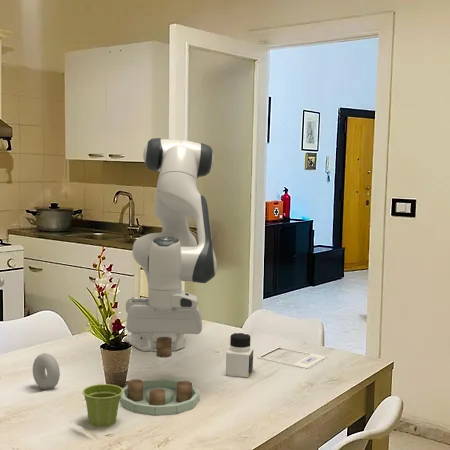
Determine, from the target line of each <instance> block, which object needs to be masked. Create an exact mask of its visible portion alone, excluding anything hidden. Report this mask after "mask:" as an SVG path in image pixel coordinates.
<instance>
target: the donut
mask: <svg viewBox="0 0 450 450" xmlns="http://www.w3.org/2000/svg"><path fill="white" fill-rule="evenodd" d="M60 370H61V369H60V366H59V363H58V362H57V360H56V357H54V356H53V355H52V354H50V353H47V352H45V353H41V354H39V355H37V356H36V358H35V359H34V361H33V364H32V376H33V379H34V382H35V384H36V385H37V387H39V388H40V389H42V390H44V391H49V390H53V389H54V388H56V386H57V385H58V384H59V380H60V376H61V373H60Z"/></svg>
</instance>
